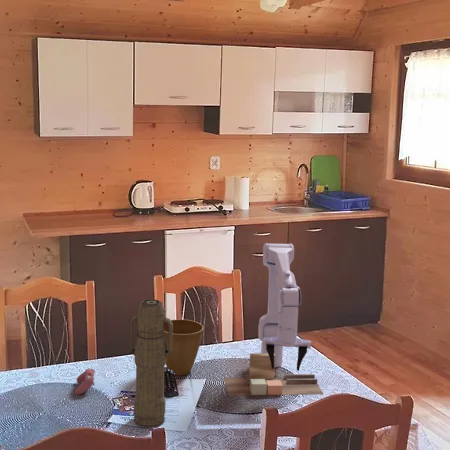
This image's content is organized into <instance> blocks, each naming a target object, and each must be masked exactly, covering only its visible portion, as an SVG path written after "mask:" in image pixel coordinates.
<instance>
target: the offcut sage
mask: <svg viewBox="0 0 450 450" xmlns="http://www.w3.org/2000/svg"><path fill="white" fill-rule="evenodd" d="M266 391H267V383H266V381H265V379H250V392H251V395H250V396H267V395H266Z"/></svg>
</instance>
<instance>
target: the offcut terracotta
mask: <svg viewBox="0 0 450 450" xmlns="http://www.w3.org/2000/svg"><path fill="white" fill-rule="evenodd" d="M266 383H267V391H266V392H267V395H266V396H283V395H282V389H283V385H282V383H281V381H280V380H266Z"/></svg>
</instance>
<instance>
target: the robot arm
mask: <svg viewBox="0 0 450 450" xmlns="http://www.w3.org/2000/svg"><path fill="white" fill-rule="evenodd" d="M294 260H295V246H294V245H293V243H269V242H266V243H264V244H263V247H262V265H263V266H265V267H267V268H268V290H267V292H268V294H267V295H268V297H267V313H266V314H264V315H262V316H261V317H260V318H259V320H258V321H259V323H258V327H257V328H258V332H257V334H258V339H259V341H260V342H261V347H260V353H268V355H269V357H270V361H271V366H272V369H274V354H275V368H279V367H281V366H282V365H283V355H284V354H283V353H284V347H285V348H290V347H291V348H298V349H297V361H296V372H297V371H300V369H301V364H302V362H303V360H304V358H305V357H306V355H307V352H308V350H309V349H311V348H312V347H311V346H312V340H309V339H308V340H307V339H303V338H298V337H297V335H298V321H299V308H300V307H301V305H302V291H301V288H300V287H299V285H297V281H296V278H295V277H296V276H295V274H294V273H293V272H292V271H291V267H290V265H291V264H292V262H293V261H294Z"/></svg>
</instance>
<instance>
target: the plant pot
mask: <svg viewBox="0 0 450 450" xmlns="http://www.w3.org/2000/svg"><path fill="white" fill-rule="evenodd" d="M170 320H171V321H172V323H173V331H172V352H171V354H169V355H168V356H166V364H165V366H166V369H167V368H168V369H170V370H173V371H174V373H175V375H174V376H176V375H177V376H179V377H180V376H181V375H182V376H186V375H188V374H190V373H191V370H192V369H193V366H194V363H195V361H196V359H197V355H198V353H199V350H200V345H201V341H202V337H203V332H204V326H203V324H202V323H200V322H198V321H195V320H192V319H191V320H190V319H183V318H182V319H170ZM164 333H165V340H166V343H167V346H166V349H167V351H168V338H169V325H168V324H167V323H165V330H164ZM168 369H167V370H168Z"/></svg>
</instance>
